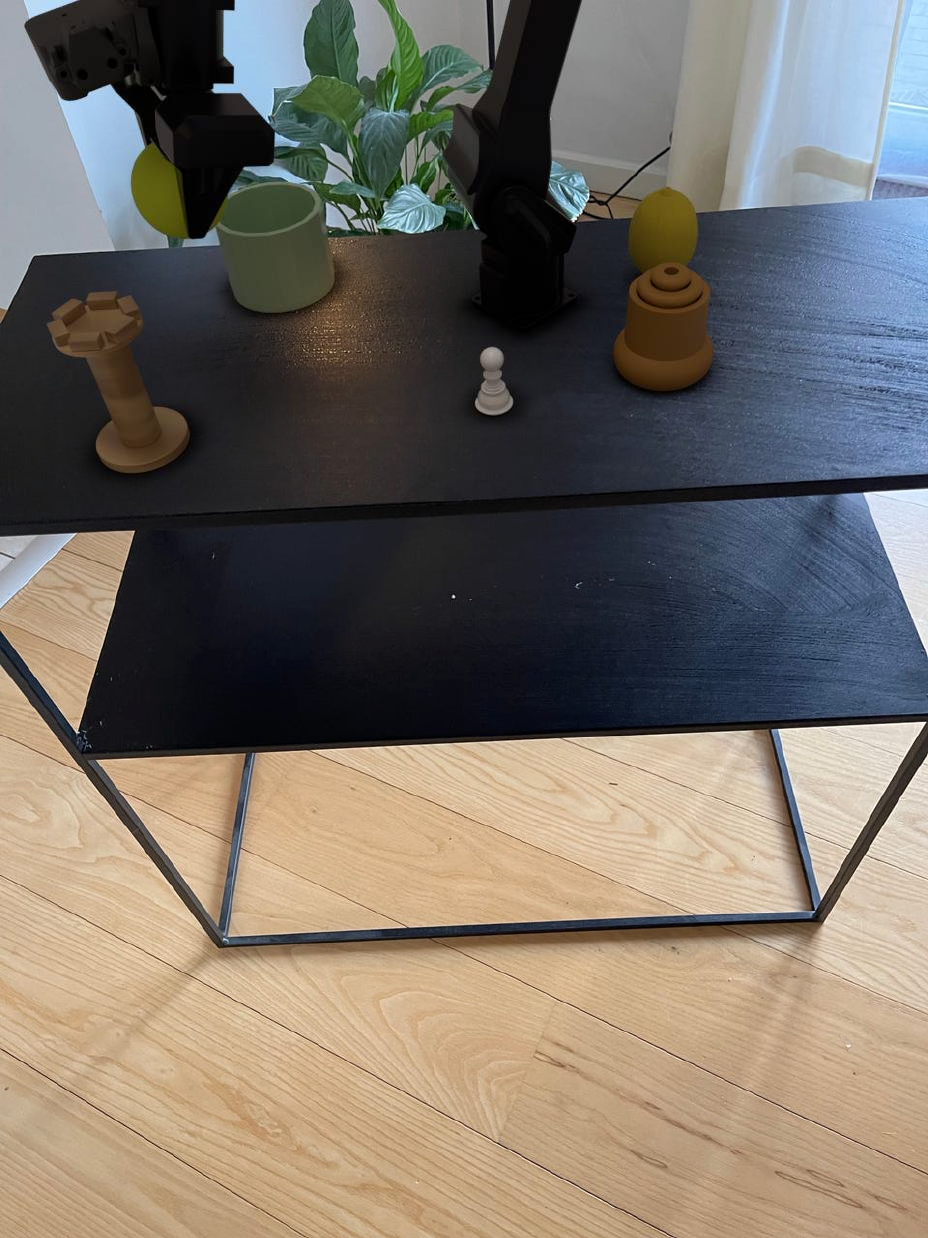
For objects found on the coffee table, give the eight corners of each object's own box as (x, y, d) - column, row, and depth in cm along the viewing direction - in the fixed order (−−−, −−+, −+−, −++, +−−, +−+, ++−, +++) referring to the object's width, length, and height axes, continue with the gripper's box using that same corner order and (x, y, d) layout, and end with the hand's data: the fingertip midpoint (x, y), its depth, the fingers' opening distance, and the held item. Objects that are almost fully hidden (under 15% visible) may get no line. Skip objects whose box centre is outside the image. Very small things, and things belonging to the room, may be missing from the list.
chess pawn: (512, 391, 74) (510, 335, 70) (513, 415, 72) (511, 358, 69) (475, 393, 74) (471, 337, 70) (475, 417, 73) (471, 360, 69)
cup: (244, 258, 89) (224, 183, 84) (340, 255, 89) (327, 179, 83) (223, 314, 84) (201, 237, 78) (327, 311, 83) (311, 233, 78)
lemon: (690, 300, 80) (701, 206, 74) (622, 296, 81) (628, 203, 75) (694, 264, 84) (705, 171, 78) (628, 261, 85) (634, 169, 79)
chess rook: (111, 416, 76) (56, 290, 67) (197, 412, 75) (153, 284, 67) (89, 475, 71) (28, 348, 63) (180, 471, 71) (131, 342, 63)
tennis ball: (180, 204, 72) (113, 142, 67) (247, 165, 69) (183, 98, 64) (176, 271, 70) (106, 213, 64) (246, 234, 67) (179, 170, 62)
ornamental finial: (594, 376, 75) (642, 327, 78) (682, 408, 72) (728, 355, 75) (598, 282, 69) (650, 233, 72) (695, 311, 65) (744, 259, 69)
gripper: (-9, -102, 59) (26, 162, 70) (72, 4, 49) (99, 294, 60) (175, -87, 64) (181, 157, 75) (284, 13, 54) (272, 278, 65)
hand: (180, 215), depth 68 cm, fingers closed on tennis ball, 6 cm apart
